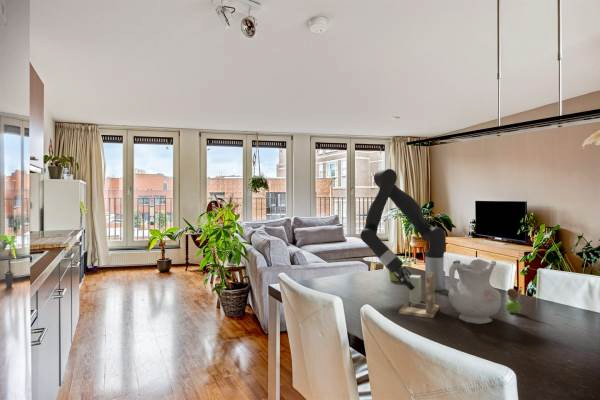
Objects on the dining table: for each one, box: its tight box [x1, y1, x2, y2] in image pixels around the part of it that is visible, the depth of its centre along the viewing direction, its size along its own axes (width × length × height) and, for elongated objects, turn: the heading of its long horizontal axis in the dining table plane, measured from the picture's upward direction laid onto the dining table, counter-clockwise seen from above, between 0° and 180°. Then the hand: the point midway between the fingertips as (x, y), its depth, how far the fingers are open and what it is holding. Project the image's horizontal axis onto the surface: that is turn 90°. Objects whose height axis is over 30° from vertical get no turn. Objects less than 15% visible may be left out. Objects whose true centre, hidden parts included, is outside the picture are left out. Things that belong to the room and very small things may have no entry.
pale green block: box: [408, 274, 422, 303], centre depth 175 cm, size 4×6×12 cm
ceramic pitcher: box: [448, 258, 502, 325], centre depth 149 cm, size 22×19×25 cm
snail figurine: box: [505, 286, 523, 314], centre depth 156 cm, size 5×6×12 cm
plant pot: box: [388, 265, 405, 282], centre depth 218 cm, size 9×9×9 cm
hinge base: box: [398, 272, 440, 319], centre depth 161 cm, size 14×16×16 cm
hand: (415, 287), depth 175 cm, fingers open, 8 cm apart
